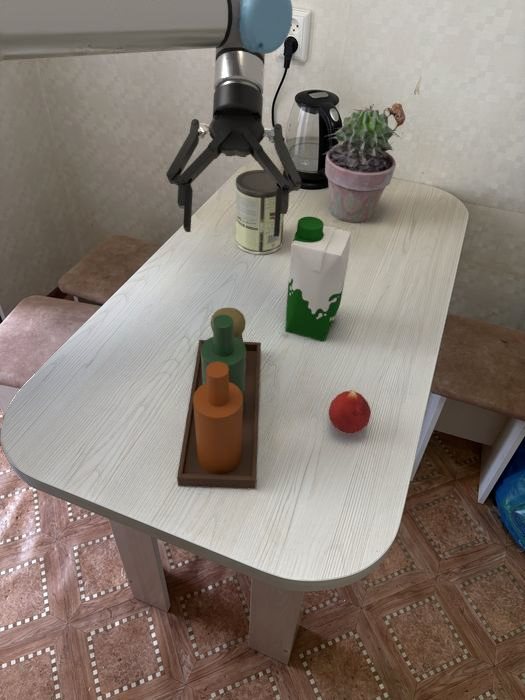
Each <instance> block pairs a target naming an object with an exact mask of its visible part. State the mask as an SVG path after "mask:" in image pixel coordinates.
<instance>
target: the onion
mask: <svg viewBox="0 0 525 700" xmlns="http://www.w3.org/2000/svg"><path fill="white" fill-rule="evenodd" d="M371 412H372V411H371V407H370V404H369V402H368V401H367V400H366V398H365V397H364V396H363V394H361V393H359V392H358V391H354V389H349V390H347V391H346V390H345V391H343V392H340V393H338V394H337V395H336V396H335V397H334V398H333V399H332V400H331V402H330V403H329V407H328V418H329V421H330V422H331V424H332V425H333V427H334V428H335V429H336V430H337V431H339V432H341V433H343V434H347V435H349V434H350V435H353V434H356V433H359V432H361V431H363V430H364V429H365V428H366V427H368V424H369V423H370V419H371Z"/></svg>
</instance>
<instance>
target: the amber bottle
mask: <svg viewBox="0 0 525 700" xmlns="http://www.w3.org/2000/svg"><path fill="white" fill-rule="evenodd" d="M206 381H207V383H204V384H203V385H201V386H200V387H199V388H198V389H197V390H196V392H195V394H194V397H193V404H194V416H195V429H196V442H197V454H198V461H199V464H200V465H201V467H202V468H203V469H204V470H206V471H207V472H209V473H212V474H226V473H229V472H231V471H233V470H234V469H235V468H236V467H237V466H238V465H239V463H240V461H241V457H242V421H243V395H242V392H241V390H240V389H239V388H238V387H237V386H236V385H235V384H233V383H231V382H229V368H228V366H227V365H226V364H225V363H223V362H212V363H210V364H209V365H208V366H207V368H206Z"/></svg>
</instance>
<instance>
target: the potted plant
mask: <svg viewBox="0 0 525 700" xmlns="http://www.w3.org/2000/svg"><path fill="white" fill-rule="evenodd" d="M373 107H374V103H372V105H370V106H369V108H368V107H366V106H365V109H354V108H353V110H354V111H352V112H351V115H350V116H347V117H343V122H342V124H343V125H342V127H336V128H334V130H337V131H335V132H334V133H331V134H328V135H327V137H329V136H333V135H335V136H333V137H330V138H328V140H331V139H334V140H336V141H337V144H335V145H331V148H330V150H328V151H326V152H324V153H322V156H324V155H326V156H325V164H324V167H325V168H324V174H325V176H326V178H327V181H328V182H327V183H328V184H327V185H328V195H329V197H328V198H329V207H330V211H331V215H332V216H333V217H334V218H335V219H338V220H340V221H343V222H349V223H352V224H353V223H354V224H355V223H356V224H357V223H363V222H366V221H368V220H370V219H372V218H371V217H372V215H373V214H374V211H375V210H376V207H377V205H378V203H379V202H380V199H381V197H382V195H383V193H384V190H385V189H386V187H387V186H389V185H390V184H391V181H392V179H393V175H394V172H395V169H396V167H397V163H396V160H395V158H394V157H393V156H392V154H390V153H389V152H387V151H393V152H394V150H393V147H392V146H391V145H392V144H393V143H394V141H392V142H391V143H390V142H389V139H391V138H392V136H395V137H396V138H400V139H402V137H400V135H398V134H397V133H396V130H397V128H398V127H401V126H402V125H404V122H405V120H406V114H405V112H404V109H403V104H401V103H397V102H395V103H392V105H391V107H386V108H385V109H384V110H383V112H382V113H380V110H379V109H376V110H374V109H373ZM356 111H357V112H356ZM386 113H388V115H386ZM391 115H392V117H393V118H394V120H395V124H396V125H395V127H394V129H393V128H391V127H390V126H389V117H390V116H391ZM327 130H331V128H329V129H328V128H327ZM325 137H326V135H325V136H324V138H325ZM321 140H324V139H321ZM316 155H318V153H317V154H315V156H316Z"/></svg>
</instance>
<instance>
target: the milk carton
mask: <svg viewBox="0 0 525 700" xmlns="http://www.w3.org/2000/svg"><path fill="white" fill-rule="evenodd" d="M351 238H352V231H350V230H345V229H341V228H337V227H336V226H332V225H325V224H324V221H322V219H320V218H318V217H316V216H304V217H301V218H299V219H298V221H297V226H296V230H295V234H294V238H293V239H292V243H291V245H290V263H289V273H288V283H287V284H288V285H287V295H286V307H285V312H286V313H285V332H286V333H291V334H294V335H297V336H301V337H305V338H310V339H313V340H317V341H321V342H325V341H326V339H327V336H328V334H329V332H330V330H331V328H332V326H333V323H334V321H335V319H336V316H337V314H338V311H339V309H340V305H341V301H342V296H343V291H344V287H345V281H346V276H347V270H348V265H349V259H350V258H349V257H350V248H351V240H352V239H351Z"/></svg>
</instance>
